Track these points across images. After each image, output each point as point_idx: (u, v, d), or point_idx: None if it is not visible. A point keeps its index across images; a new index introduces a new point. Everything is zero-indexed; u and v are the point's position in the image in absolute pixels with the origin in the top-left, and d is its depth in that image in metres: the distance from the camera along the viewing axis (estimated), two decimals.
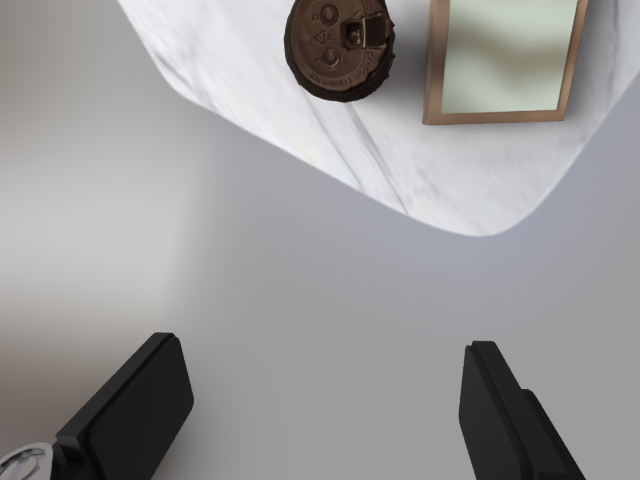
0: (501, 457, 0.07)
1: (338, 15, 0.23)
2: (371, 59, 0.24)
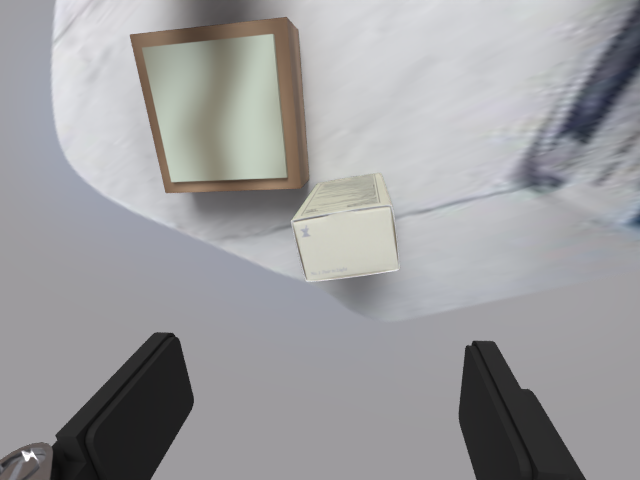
0: (501, 457, 0.07)
1: None
2: None
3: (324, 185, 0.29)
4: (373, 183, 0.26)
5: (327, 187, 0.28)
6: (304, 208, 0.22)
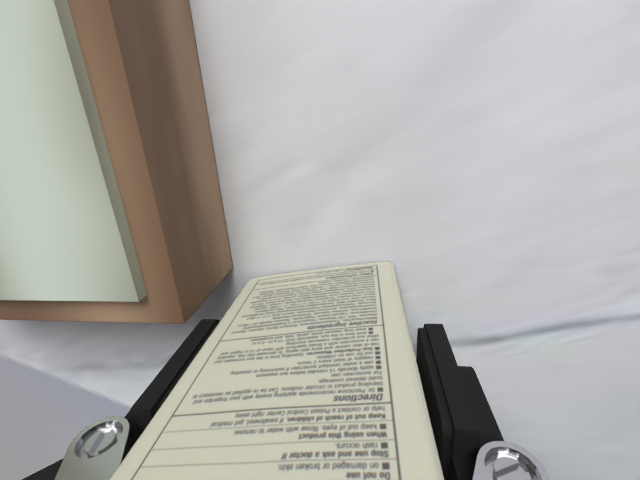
0: (434, 421, 0.08)
1: None
2: None
3: (257, 298, 0.12)
4: (376, 335, 0.09)
5: (257, 315, 0.11)
6: None
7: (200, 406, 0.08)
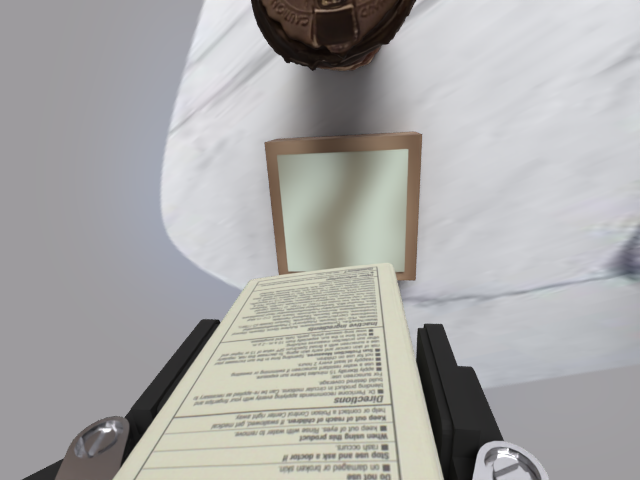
0: (434, 421, 0.08)
1: None
2: (297, 25, 0.16)
3: (257, 299, 0.12)
4: (376, 337, 0.09)
5: (258, 317, 0.11)
6: None
7: (201, 408, 0.08)
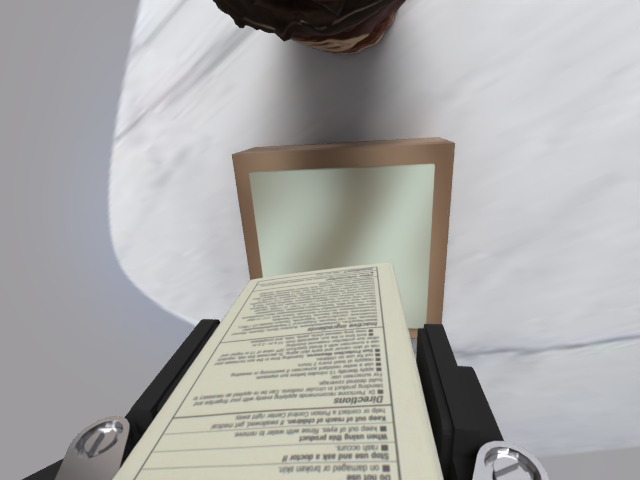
0: (434, 421, 0.08)
1: None
2: None
3: (257, 299, 0.12)
4: (376, 337, 0.09)
5: (258, 317, 0.11)
6: None
7: (201, 408, 0.08)
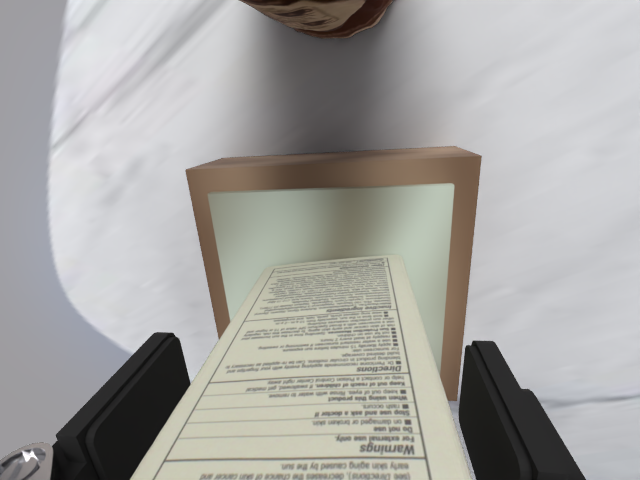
0: (501, 456, 0.07)
1: None
2: None
3: (275, 284, 0.13)
4: (391, 318, 0.10)
5: (277, 300, 0.12)
6: None
7: (234, 375, 0.08)
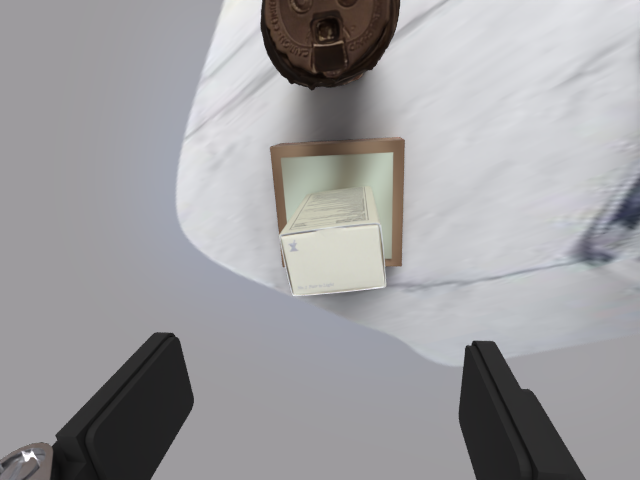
0: (501, 456, 0.07)
1: (346, 6, 0.19)
2: (300, 56, 0.20)
3: (314, 196, 0.29)
4: (362, 197, 0.26)
5: (317, 199, 0.28)
6: (293, 221, 0.22)
7: (308, 210, 0.25)
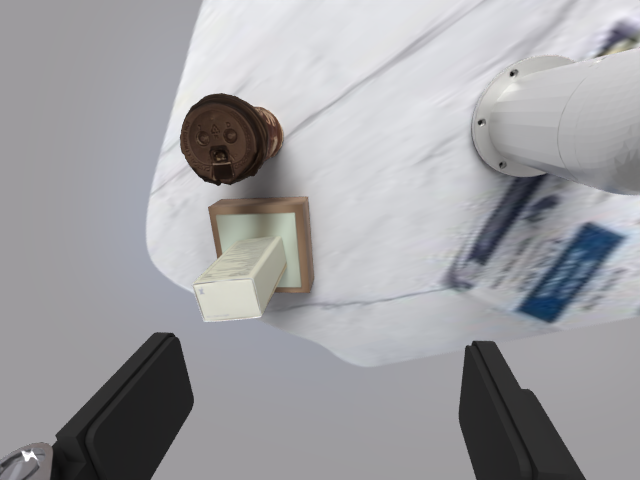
0: (501, 457, 0.07)
1: (230, 143, 0.30)
2: (204, 170, 0.31)
3: (237, 245, 0.41)
4: (264, 250, 0.37)
5: (237, 248, 0.39)
6: (207, 272, 0.34)
7: (223, 261, 0.36)
